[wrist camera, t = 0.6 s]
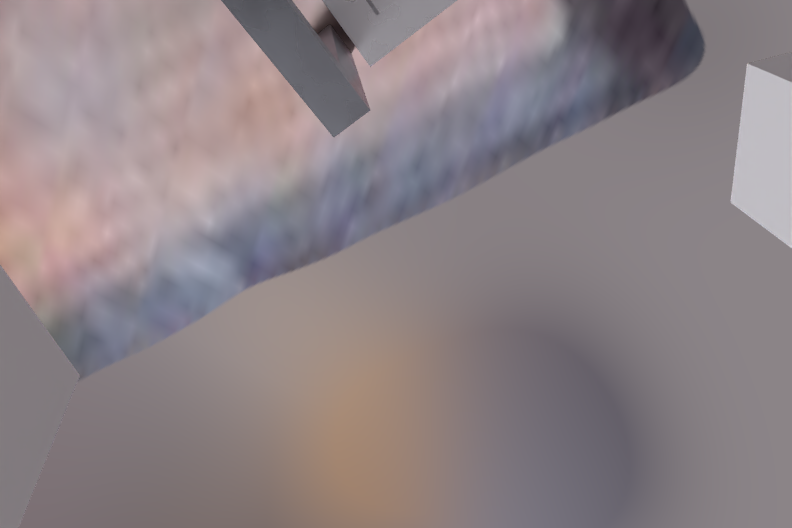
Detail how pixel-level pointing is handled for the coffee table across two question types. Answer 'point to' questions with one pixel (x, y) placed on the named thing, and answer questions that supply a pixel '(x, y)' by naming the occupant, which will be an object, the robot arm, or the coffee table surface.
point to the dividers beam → (306, 59)
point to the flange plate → (383, 22)
